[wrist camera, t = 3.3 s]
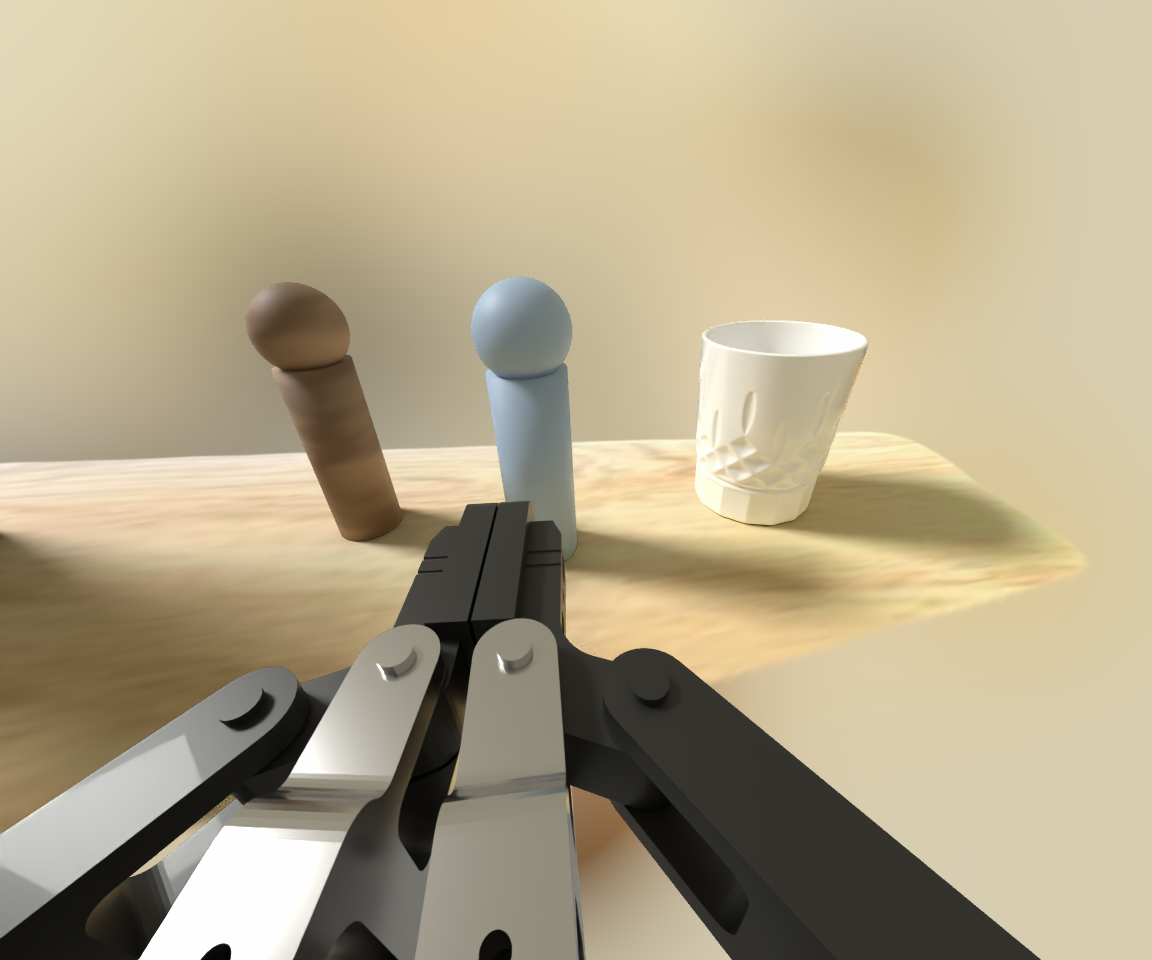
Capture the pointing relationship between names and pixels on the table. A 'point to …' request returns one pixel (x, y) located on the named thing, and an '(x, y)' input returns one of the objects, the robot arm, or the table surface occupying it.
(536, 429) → the blue pin
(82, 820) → the robot arm
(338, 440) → the walnut pin
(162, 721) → the table surface
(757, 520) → the white cup
